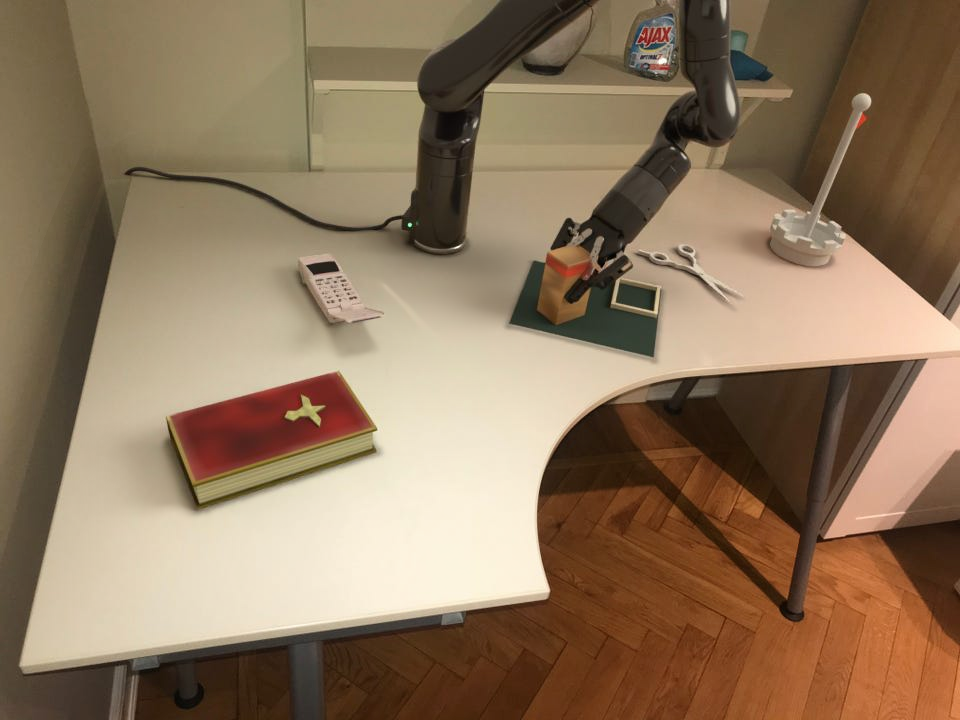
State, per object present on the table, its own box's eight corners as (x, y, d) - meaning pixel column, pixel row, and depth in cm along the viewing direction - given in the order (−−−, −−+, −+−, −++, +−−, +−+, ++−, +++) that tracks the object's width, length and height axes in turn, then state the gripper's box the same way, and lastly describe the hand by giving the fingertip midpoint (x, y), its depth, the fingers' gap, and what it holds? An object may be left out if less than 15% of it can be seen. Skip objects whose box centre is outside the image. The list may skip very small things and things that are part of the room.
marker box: (536, 309, 119) (547, 251, 112) (565, 300, 122) (577, 242, 115) (555, 325, 116) (567, 266, 109) (584, 315, 119) (598, 256, 112)
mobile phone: (345, 322, 102) (290, 232, 118) (344, 357, 105) (291, 264, 122) (387, 314, 104) (327, 227, 121) (385, 348, 108) (327, 259, 124)
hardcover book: (169, 438, 90) (164, 412, 87) (337, 392, 99) (337, 366, 97) (197, 510, 82) (192, 483, 79) (376, 452, 92) (377, 426, 89)
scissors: (680, 239, 142) (763, 293, 129) (679, 242, 142) (761, 297, 130) (638, 249, 137) (719, 307, 124) (637, 253, 137) (718, 311, 125)
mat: (508, 325, 115) (509, 318, 114) (533, 262, 131) (534, 256, 130) (652, 360, 112) (655, 353, 112) (660, 291, 128) (662, 284, 127)
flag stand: (812, 276, 138) (884, 113, 119) (751, 244, 145) (810, 86, 127) (847, 257, 145) (920, 101, 127) (787, 228, 152) (848, 76, 134)
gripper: (589, 171, 115) (515, 258, 116) (657, 213, 107) (577, 306, 108) (607, 197, 121) (537, 279, 122) (673, 238, 113) (597, 326, 114)
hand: (556, 291), depth 115 cm, fingers closed on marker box, 4 cm apart
